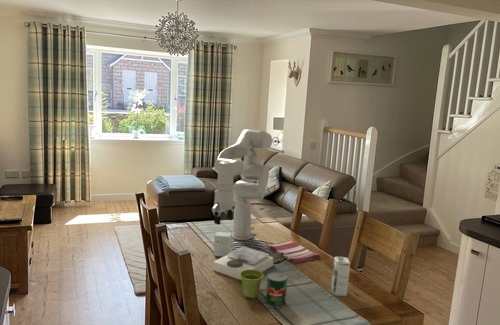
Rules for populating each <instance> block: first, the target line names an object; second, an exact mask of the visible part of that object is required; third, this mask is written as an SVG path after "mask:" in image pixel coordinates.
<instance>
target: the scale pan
mask: <svg viewBox="0 0 500 325" xmlns="http://www.w3.org/2000/svg"><path fill="white" fill-rule="evenodd" d="M227 256H228V257H231V258H234V259H238V260H241V261H244V262H247V263H250V264H253V265H255V264H256V263H258V262H260V261H262V260H264V259H265V258H267V257H269V256H270V253H267V252H264V251H261V250H258V249H254V248H250V247H247V246H241V247H239V248H237V249H235V250H233V251H232V250H231V252H230V253H228V254H227ZM270 257H271V256H270Z"/></svg>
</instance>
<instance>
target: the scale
mask: <svg viewBox="0 0 500 325" xmlns="http://www.w3.org/2000/svg"><path fill="white" fill-rule="evenodd" d="M273 266H274V256H269V257H267V258H265V259H264V260H262V261H260V262H258V263H256V264H255V265H253V264H250V263H247V262H244V261H241V260H238V259H234V258H231V257H228V256H227V255H226V256H221V257H220V258H218V259H216V260H213V264H212V270H213V271H214V272H217V273H220V274H223V275H226V276H229V277H231V278H233V279H237V280H239V281H242V280H241V277H240V272H242V271H244V270H258V271H260V272H262V273H263V272H265V271H266V270H268V269H270V268H272V267H273Z"/></svg>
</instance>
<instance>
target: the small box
mask: <svg viewBox="0 0 500 325" xmlns="http://www.w3.org/2000/svg"><path fill="white" fill-rule="evenodd" d="M213 237H214V238H213V239H214V242H213V256H215V257H224V256H226V255H227V254H228V253H230V252H232V245H233V244H232V240H233V238H232V233H231V232H222V231H221V232H220V231H216V232H215V234H214V236H213Z"/></svg>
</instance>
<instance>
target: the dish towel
mask: <svg viewBox="0 0 500 325" xmlns="http://www.w3.org/2000/svg"><path fill="white" fill-rule="evenodd" d="M266 248H268V249H269V250H270V251H272V252H273V253H275V254H277V255H279V256H280V257H281V258H283V259H286V260H287V261H289V262H290V263H292V264H293V265H294V264H298V263H303V262H308V261H312V260H317V259H320V258H321V255H320V254H319V253H315V252H313V251H312V250H309V249H308V248H306V247H304V246H302V245H300V244H298V243H297V242H295V241H292V240H288V241H282V242H278V243H273V244H272V243H271V244H267V246H266Z"/></svg>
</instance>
